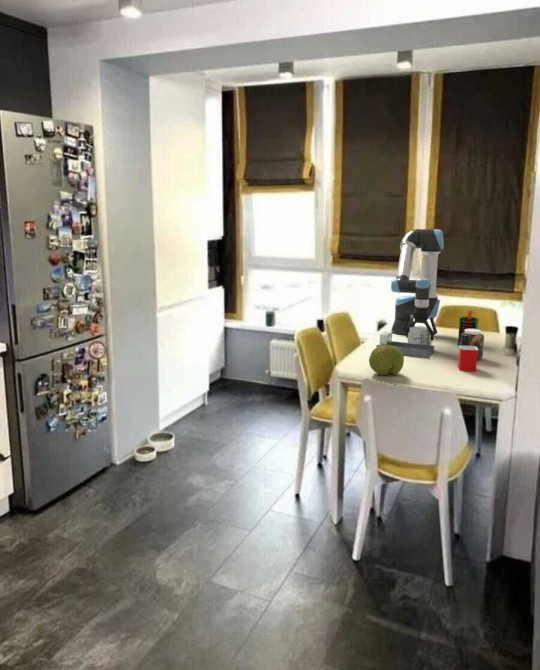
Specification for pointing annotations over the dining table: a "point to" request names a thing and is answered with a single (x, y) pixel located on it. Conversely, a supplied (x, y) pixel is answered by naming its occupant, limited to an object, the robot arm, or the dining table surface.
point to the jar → (473, 341)
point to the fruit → (386, 360)
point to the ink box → (419, 335)
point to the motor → (467, 324)
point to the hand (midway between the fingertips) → (419, 344)
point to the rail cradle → (406, 346)
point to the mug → (467, 358)
